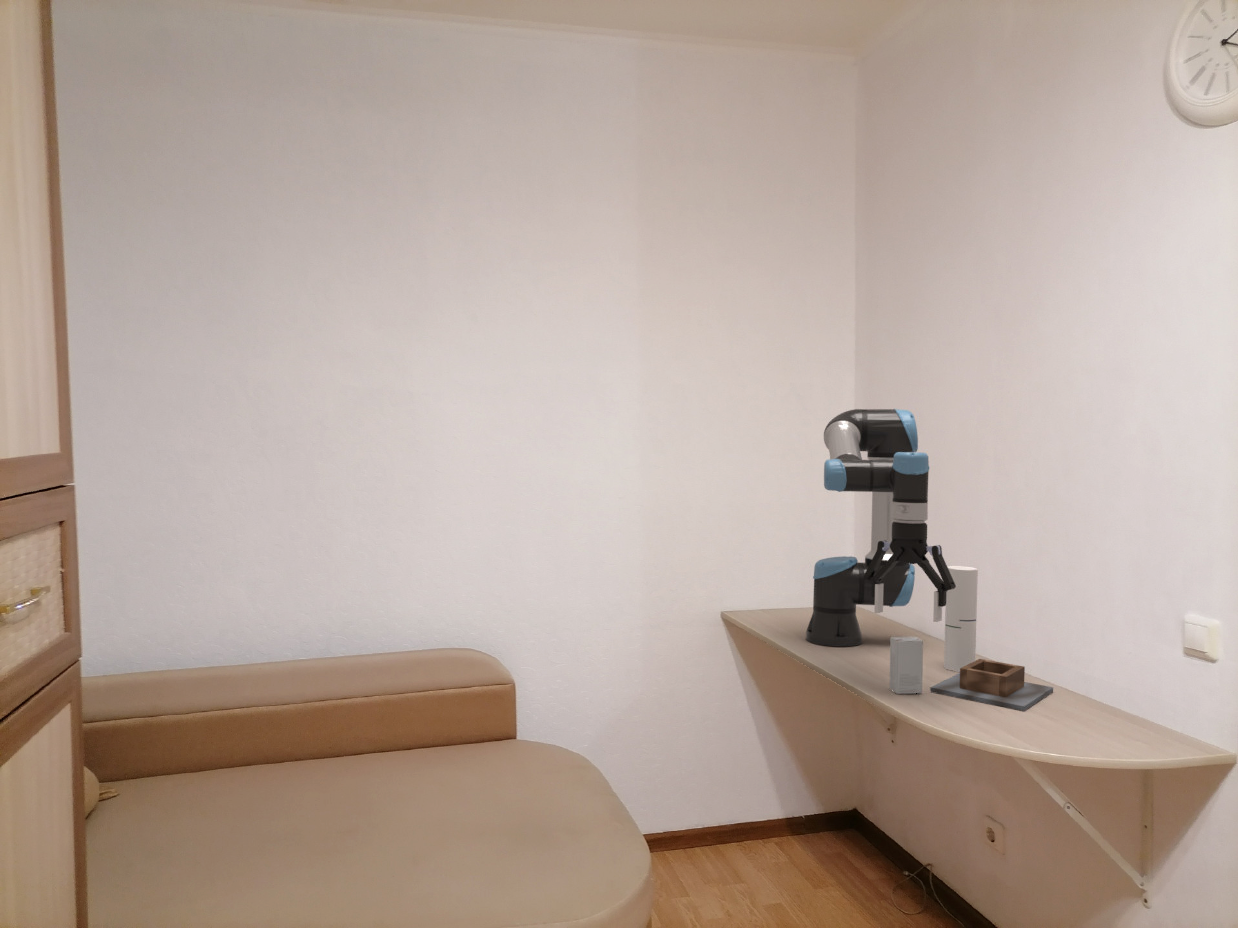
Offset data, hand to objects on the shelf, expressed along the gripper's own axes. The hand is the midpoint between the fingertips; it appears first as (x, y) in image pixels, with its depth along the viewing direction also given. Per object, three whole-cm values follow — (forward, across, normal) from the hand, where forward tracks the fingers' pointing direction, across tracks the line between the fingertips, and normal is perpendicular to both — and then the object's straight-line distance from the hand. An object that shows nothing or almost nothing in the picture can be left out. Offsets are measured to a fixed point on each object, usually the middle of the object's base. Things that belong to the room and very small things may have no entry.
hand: (907, 616), depth 196 cm
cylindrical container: (+17, +1, +29) cm, 34 cm away
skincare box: (+17, 0, 0) cm, 17 cm away
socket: (+17, +14, +14) cm, 26 cm away
